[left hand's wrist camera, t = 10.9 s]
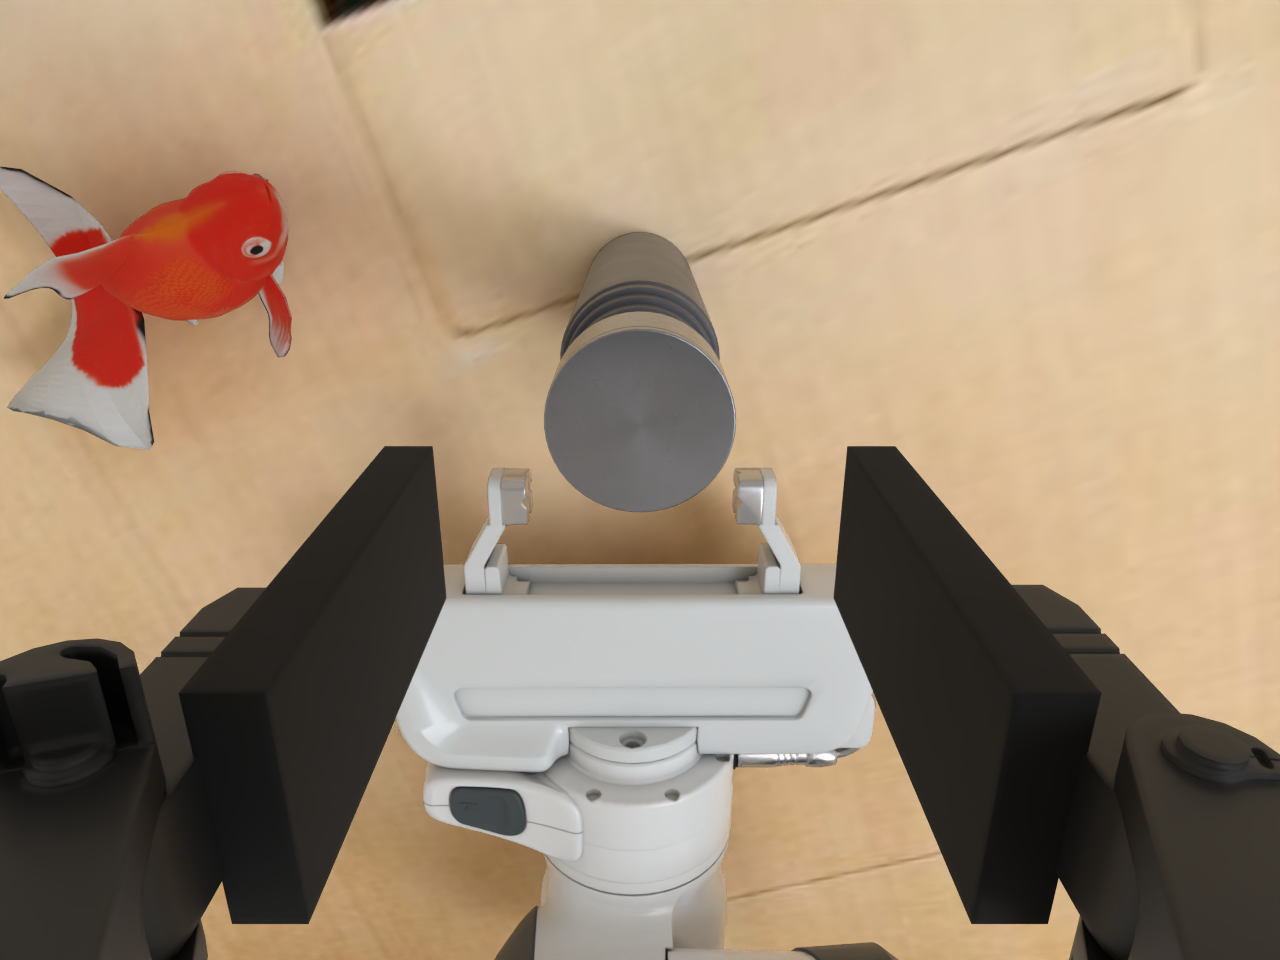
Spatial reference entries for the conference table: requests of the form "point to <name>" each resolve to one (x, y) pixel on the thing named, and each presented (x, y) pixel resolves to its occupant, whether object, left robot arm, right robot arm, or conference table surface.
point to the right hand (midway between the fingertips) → (632, 472)
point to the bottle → (640, 286)
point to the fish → (144, 290)
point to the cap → (639, 413)
